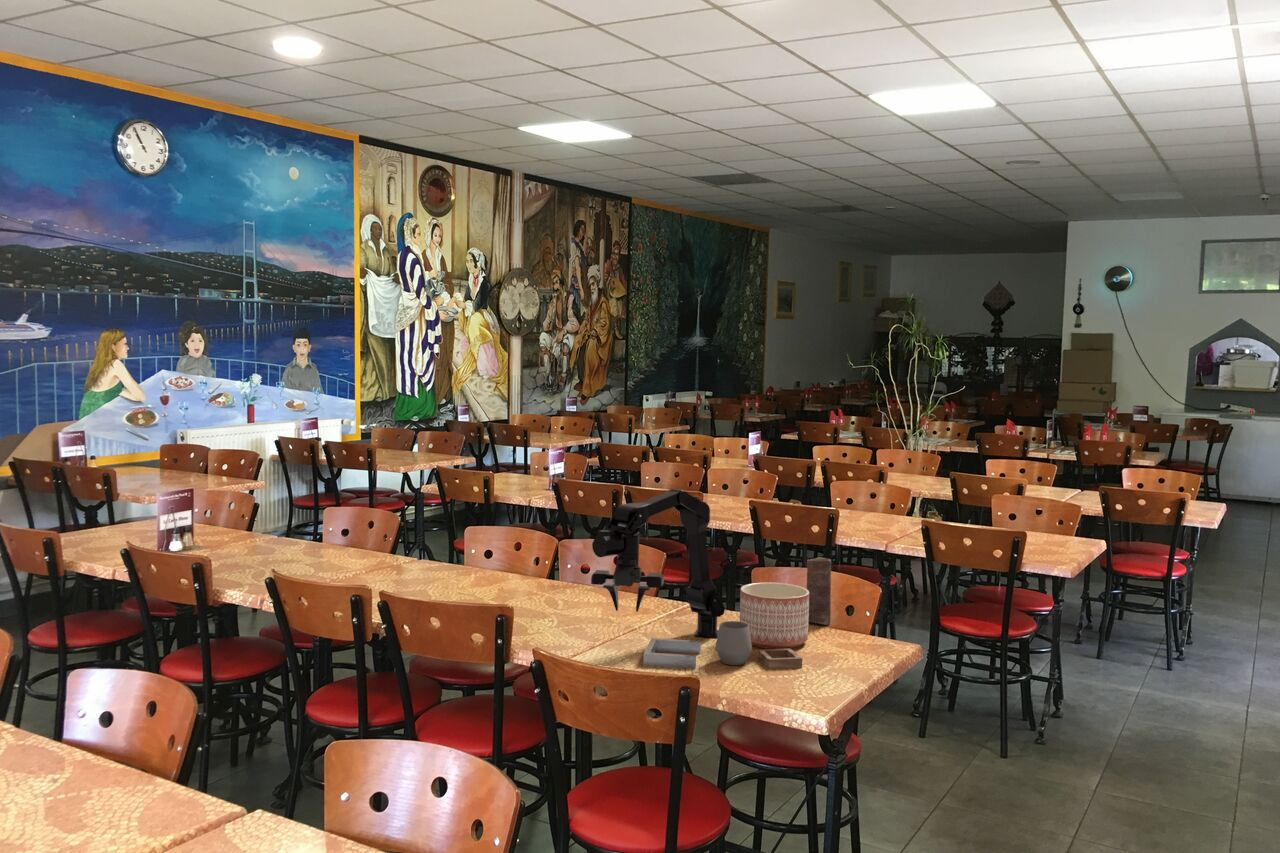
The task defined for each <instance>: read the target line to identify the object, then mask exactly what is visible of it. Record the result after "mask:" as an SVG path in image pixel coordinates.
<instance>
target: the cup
mask: <svg viewBox="0 0 1280 853" xmlns="http://www.w3.org/2000/svg"><path fill="white" fill-rule="evenodd" d="M718 630H719V631H718V636H717V638H716V641H715V650H716V653H717V655H718V657H719V660H720V661H721V663H723V664H725V665H728V666H741V665H743V664H745V663H746V662H747V661H748V658H749V656H750V655H751V653H752V651H753V645H752V644H751V637H750V630H749V625H748V624H746V623H744V622H740V621H738V620H737V621H735V620H729V621H728V620H727V621H723V622H720V623H719V627H718Z"/></svg>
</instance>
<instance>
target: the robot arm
mask: <svg viewBox="0 0 1280 853" xmlns="http://www.w3.org/2000/svg"><path fill="white" fill-rule="evenodd" d="M672 508H673V509H674V510H675V511H676V512H678V514H679V516H680V520H681V524H682V525H683V527H684V529H685V530H686V532H687V536H688V538H687V539H688V546H689V547H688V549H689V557H690V566H691V567H690V569H691V578H692V579H691V582H690V584H689V586H687V587H686V588H685V593H686V599H685V600H686V601H687V602H688V605H689V606H690V611H691V612H692V613H696V614H697V618H696V619H697V620H696V622H697V624H696V625H697V626H696V629H695V633H694V636H695V637H699V638H700V637H703V638H716V639H717V636H718V631H719V629H718V618H720V617H722V616H723V615H724V614H725V612H726V606H724V604H723V603H722V602H721V600H720V599H719V596H718V592H717V587H716V585H715V584H714V583H713V581H712V579H711V577H710V567H709V557H708V546H707V536H706V530H707V528H708V526H709V524H710V520H711V518H710V517H711V508H710V505H709V504H708V503H707V502H705V501H701V500H700V499H698V498H696V497H695V496H692V495H690V494H689V493H688V492H687V491H685V490H684V489H678V488H671V489H669V490H668V491H666V492H663V493H661V494H658V495H656V496H653V497H651V498H649V499H645V500H643V501H641V502H629V503H622V504H619V505H618V506H617V507H616V508H615V511H614V513H613V515H612V517H611V518H610V521H609V522H608V525H607V526H606V528H605V530H602V529H601V530H600V529H599V530H598V531H597V535H596V536H595V537H594V538H593V541H592V543H591V544H592V545H591V547H592V551H593V553H594V555H595V556H596V557H598V558H605V557H606V558H607V557H611V556H617V557H616V558H617V560H616V565H615V568H614V572H613V574H610V570H604V569H603V570H602V569H601V570H600V569H597V570H595V571H594V572H593V573H592V574H591V577H590V579H591V580H590V584H591V585H597V586H598V585H600V586H602V587H603V588H604V589H606V590H607V591H608V592H609V595H610V597H611V599H612V603H613V605H614V608H615V611H616V612H617V611H619V589H618V587H620V586H622V587H624V586H625V587H627V588H628V587H629V588H630V587H632V586H634V585H633V584H639V585H638V588H637V598H636V606H635V612H636V613H638V612H639V609H640V607H641V604H642V601H643V598H644V595H645V594H646V591H650V589H651V588H652V589H660V588H662V587H663V586H664V584H665V583H664V582H665V577H664V576H665V575H663V573H662V572H661V573H658V572H655V573H654V572H649V573H648V574H647V575H642V568H641V567H640V536H644V535H646V532H645V530H643V528H642V526H643V525H645V524H646V523H647V522H648V521H649V519H650V518H651V517H653V516H655V515H658V514H660V513H663V512H665V511H668V510H670V509H672ZM724 616H725V615H724Z"/></svg>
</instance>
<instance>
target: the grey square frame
mask: <svg viewBox="0 0 1280 853" xmlns="http://www.w3.org/2000/svg"><path fill="white" fill-rule="evenodd" d="M701 645H702V641H701V640H689V639H688V640H687V639H686V640H685V639H674V638H673V639H672V638H670V639H669V638H657V637H656V638H655V637H654V638H653V637H651V639H650V640H649V642H648V645H647V646H646V648H645V651H644V652H643V660H642V661H643V662H642V663H643V664H642V665H643V666H647V667H648V666H649V667H662V668H675V669H676V668H677V669H678V668H679V669H690V670H693V669H694V670H696V668H697V655H693V654H701V650H702V646H701ZM660 652H662V653H660ZM663 652H668V653H663ZM669 652H671V653H669ZM676 653H686V654H676Z"/></svg>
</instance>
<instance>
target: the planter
mask: <svg viewBox="0 0 1280 853" xmlns="http://www.w3.org/2000/svg"><path fill="white" fill-rule="evenodd" d="M739 593H740V594H739V597H740V598H739V599H740V600H739V622H744V623H746V624H748V625H749V630H750V637H751V644H752V647H757V648H761V649H789V648H790V649H794V648H798V647H799V646H801V645H802V644H804V643H806V642H807V641H808V639H809V621H808V618H809V591H808V590H807V588H806V587H803V586H800V585H797V584H796V585H795V584H792V583H783V582H754V583H748V584H744V585H742V586H741V587H740V591H739Z"/></svg>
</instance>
